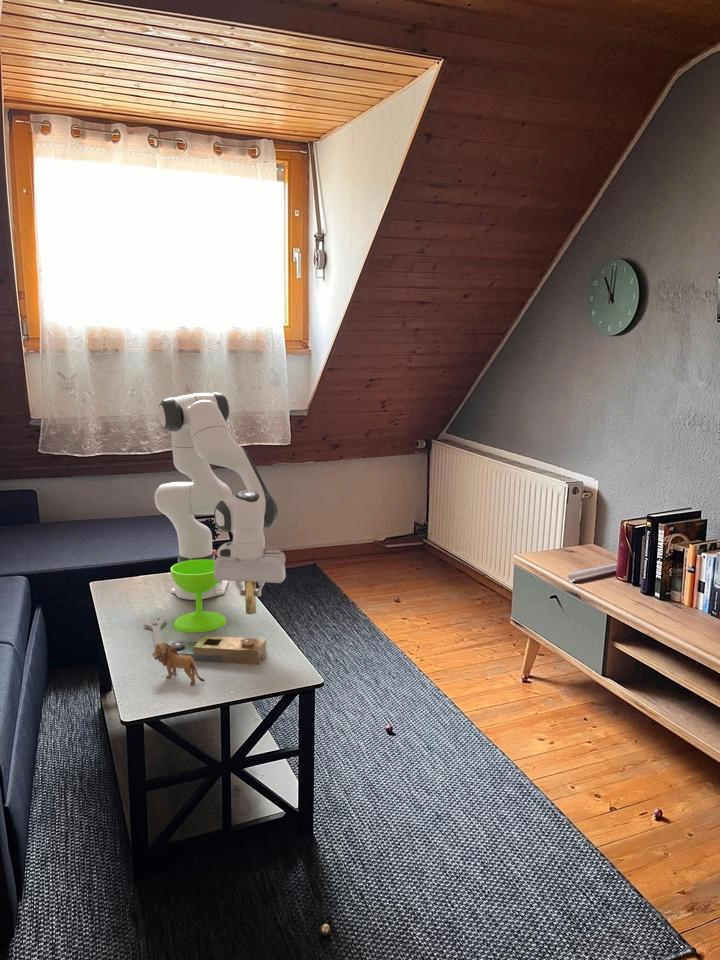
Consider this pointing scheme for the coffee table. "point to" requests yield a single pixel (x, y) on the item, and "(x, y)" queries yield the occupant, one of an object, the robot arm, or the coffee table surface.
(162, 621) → the adjustable wrench
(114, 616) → the coffee table surface
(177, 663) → the lion figurine
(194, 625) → the wineglass
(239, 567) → the robot arm
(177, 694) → the coffee table surface
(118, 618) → the coffee table surface
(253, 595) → the brass pin
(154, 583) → the coffee table surface
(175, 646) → the door latch
